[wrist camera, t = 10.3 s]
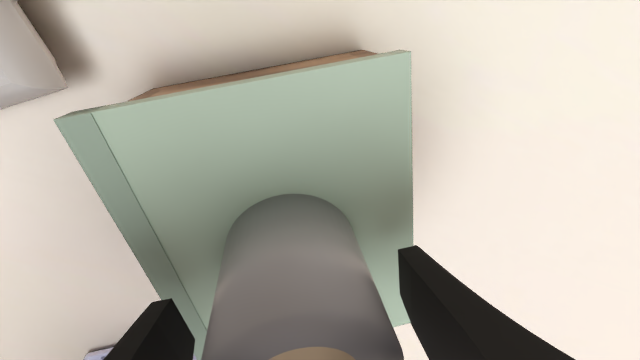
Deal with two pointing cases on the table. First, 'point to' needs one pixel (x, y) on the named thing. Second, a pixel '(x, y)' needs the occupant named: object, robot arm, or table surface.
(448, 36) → the table surface
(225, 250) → the tan-topped grey cylinder
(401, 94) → the lid
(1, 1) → the stamp
